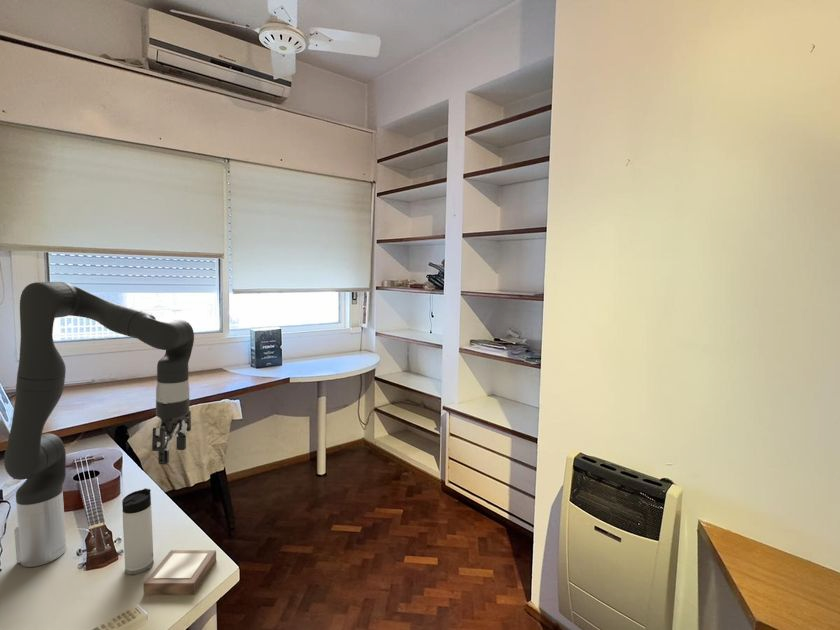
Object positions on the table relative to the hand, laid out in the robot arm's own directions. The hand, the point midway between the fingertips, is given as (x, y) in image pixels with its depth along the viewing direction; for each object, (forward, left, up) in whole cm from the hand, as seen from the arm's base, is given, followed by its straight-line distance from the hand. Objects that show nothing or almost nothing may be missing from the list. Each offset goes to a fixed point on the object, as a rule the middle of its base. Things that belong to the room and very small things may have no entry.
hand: (172, 456), depth 110 cm
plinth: (+5, -6, -29) cm, 30 cm away
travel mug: (-8, -2, -30) cm, 31 cm away
